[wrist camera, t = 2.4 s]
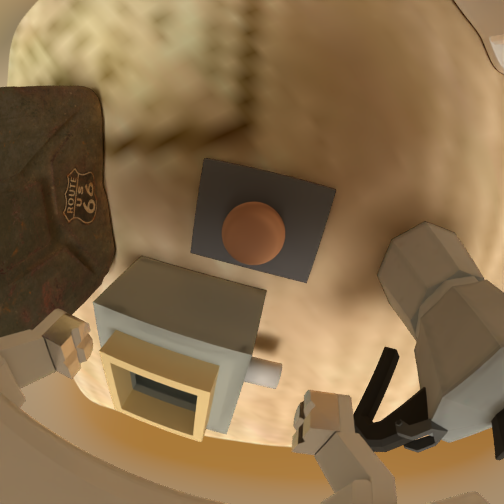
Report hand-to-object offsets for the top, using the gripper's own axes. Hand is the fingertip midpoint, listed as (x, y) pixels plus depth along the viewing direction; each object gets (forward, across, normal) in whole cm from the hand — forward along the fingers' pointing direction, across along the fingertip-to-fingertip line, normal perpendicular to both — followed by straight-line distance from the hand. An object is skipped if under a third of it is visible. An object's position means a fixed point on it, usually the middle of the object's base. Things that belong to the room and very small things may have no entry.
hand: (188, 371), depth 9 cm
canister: (+16, +18, 0) cm, 24 cm away
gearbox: (+15, +2, +11) cm, 19 cm away
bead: (+15, 0, -1) cm, 15 cm away
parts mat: (+15, 0, -1) cm, 15 cm away
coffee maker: (+15, -14, 0) cm, 21 cm away
